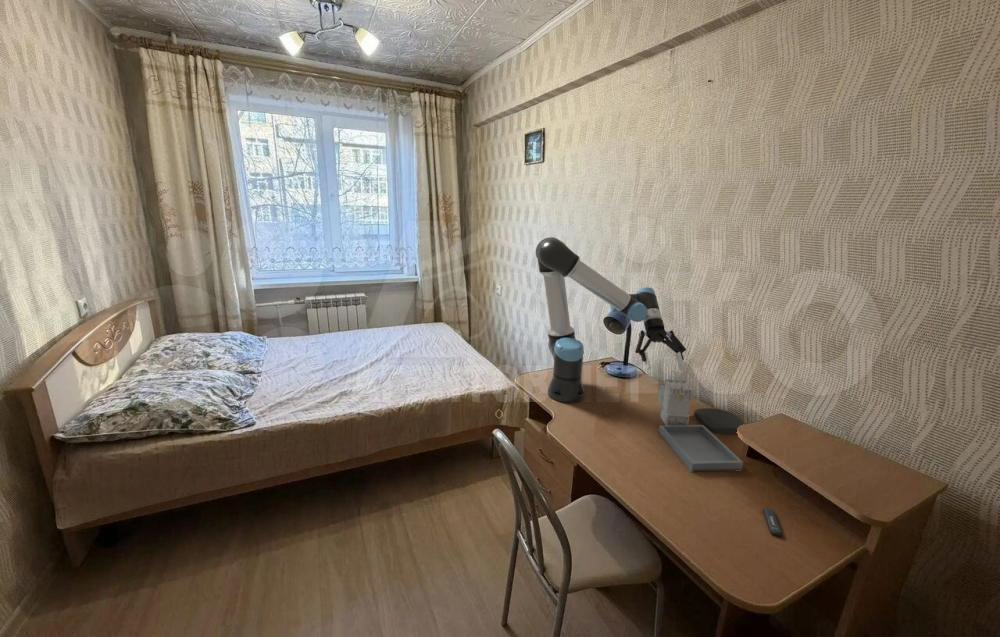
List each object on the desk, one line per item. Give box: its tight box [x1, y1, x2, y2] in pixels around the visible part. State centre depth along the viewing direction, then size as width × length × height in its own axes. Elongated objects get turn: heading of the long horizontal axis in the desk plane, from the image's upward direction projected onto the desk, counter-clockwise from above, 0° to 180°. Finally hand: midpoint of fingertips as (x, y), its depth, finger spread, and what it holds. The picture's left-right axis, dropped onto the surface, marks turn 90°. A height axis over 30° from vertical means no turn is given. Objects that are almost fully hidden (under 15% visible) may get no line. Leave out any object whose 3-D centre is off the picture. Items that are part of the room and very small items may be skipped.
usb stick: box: [762, 507, 783, 539], centre depth 102 cm, size 10×3×2 cm, turn 159°
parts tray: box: [658, 424, 744, 473], centre depth 133 cm, size 22×16×3 cm
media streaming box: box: [693, 407, 745, 435], centre depth 150 cm, size 15×15×3 cm
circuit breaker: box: [657, 379, 694, 425], centre depth 152 cm, size 8×14×15 cm, turn 174°
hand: (665, 368), depth 159 cm, fingers open, 13 cm apart
